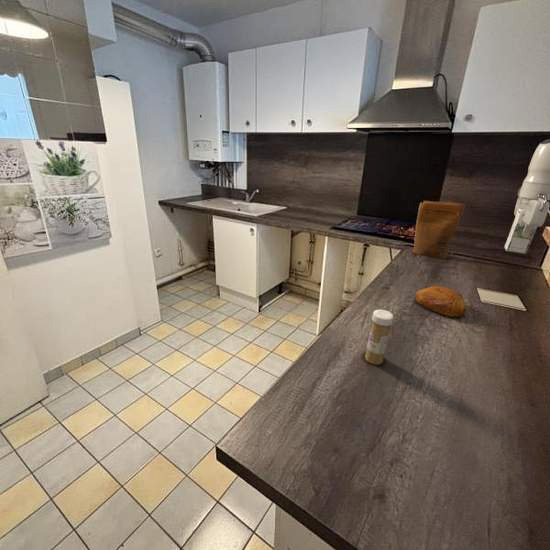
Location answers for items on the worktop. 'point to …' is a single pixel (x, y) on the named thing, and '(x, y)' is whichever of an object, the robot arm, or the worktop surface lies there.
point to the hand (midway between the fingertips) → (521, 234)
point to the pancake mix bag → (436, 227)
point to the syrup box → (519, 235)
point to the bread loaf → (442, 300)
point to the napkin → (500, 299)
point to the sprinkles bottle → (378, 336)
